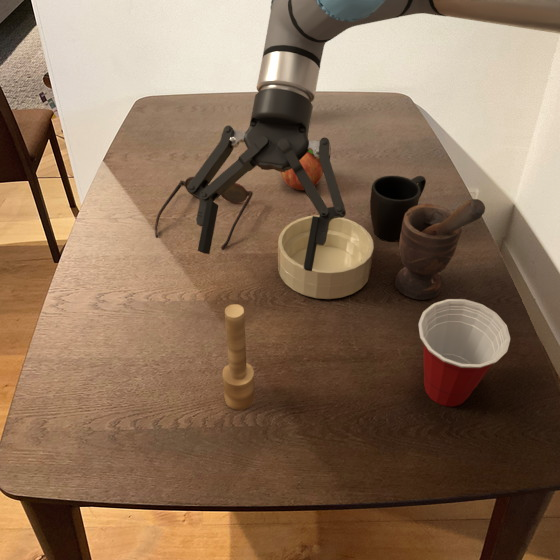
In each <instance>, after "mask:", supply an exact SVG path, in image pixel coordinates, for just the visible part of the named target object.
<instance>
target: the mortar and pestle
mask: <svg viewBox="0 0 560 560" xmlns="http://www.w3.org/2000/svg"><path fill="white" fill-rule="evenodd" d="M485 211H486V205H485V203H484V202H483V201H482V200H480V199H478V198H471V199H469V200H467V201H465V202H464V203H463V204H461V205H460V206H459V207H458V208H456V210H454V211H453V210H451V209H450V208H447V207H444V206H440V205H438V204H434V203H424V204H422V203H421V204H418V205H417V206H414V207H412V208H410V209H409V210H408V211H407V212H406V213H405V216H404V219H403V224H402V230H401V235H400V240H399V244H398V245H399V246H398V247H399V249H398V250H399V255H400V260H401V262H402V265H403V266H404V267H403V268H401V269H400V270H399V271H398V273H397V274H396V277H395V280H394V286H395V288H396V289H397V291H398V292H399V293H400V294H402V295H403V296H405V297H407V298H410V299H413V300H420V301H423V300H432V299H435V298H436V297H437V296H438V295H439V294H440V293H441V290H442V281H441V278H440V275H439V273H442V272H443V270H445V269H446V268H447V266H448V265H449V263H450V261H451V260H452V258H453V257H454V254H455V252H456V249H457V246H458V243H459V239H460V237H461V234H462V232H463V227H465V226H468V225H470V224H471V223H474V222H476V221H478V220H480V219H481V217H482V216H483V215H484V214H485Z"/></svg>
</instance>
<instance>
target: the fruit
mask: <svg viewBox="0 0 560 560" xmlns="http://www.w3.org/2000/svg"><path fill="white" fill-rule="evenodd" d="M299 161H300V163H301V165H302V166H303V168H304V170H305V171H306V173H307V175H308V176H309V178H310V180H311V181H312V183H313V185H314V186H317V184H319V182H320V181H321V179H322V177H323V176H324V173H323V170H322V166H321V163H320V159H317V158H316V157H315V156H314V153H313V151H311V150H309V151H308V152H307V153H306V154H305V155H304V156H303V157H302V158H301V159H300V160H299ZM280 175H281V178H282V180H283V181H284V183H285V184H286V185H287V186H288V187H290V188H292V189H293V190H296V191H305V189H304V188H303V186H302V184H301V183H300V181H299V179H298V178H297V176H296V175H295V173H294V171H293V170H292V168H291V169H290V170H288V171H285V172H280Z"/></svg>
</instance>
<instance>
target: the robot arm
mask: <svg viewBox="0 0 560 560" xmlns="http://www.w3.org/2000/svg"><path fill="white" fill-rule="evenodd" d="M417 14H425V15H432V16H440V17H448V18H449V17H450V18H455V19H461V20H462V19H463V20H470V21H475V22H482V23H488V24H495V25H500V26H501V25H502V26H508V27H514V28H519V29H526V30H534V31H539V32H540V31H541V32H547V33H554V34H559V35H560V0H270V11H269V18H268V22H267V23H268V24H267V29H266V36H265V41H264V46H263V53H262V58H261V63H260V68H259V73H258V78H257V83H256V91H257V93H256V94H255V95H254V99H253V105H252V111H251V117H250V121H249V126H248V128H247V129H246V131H241V130H238V129H234V128H233V127H232V126H231V125H228V124H227V125H226V126H224V127H223V130H222V133H221V137H220V140H219V142H218V143H217V145H216V146H215V148H214V149H213V151H212V152H211V153H210V155H209V156H208V157H207V159H206V160H205V161H204V162H203V164H202V165H201V167H200V168H199V169H198V170H197V172H196V173H195V175H194V176H193V177H194V178H193V179H192V181H191V182H190V183H189V185H188V187H187V189H188V191H189V192H190V193H192V194H193V195H195V196H197V197H198V198H197V199H198V200H199V203H198V209H197V215H196V219H195V221H196V225H198V226H199V227H201V231H200V237H199V242H198V246H197V252H200V253H202V254H205V255H210V252H211V249H212V243H213V237H214V234H215V233H214V232H215V226H216V222H217V217H218V212H219V211H218V210H219V204H217V203H216V202H215V201H216V200H217V199H219V197H221V194H223V193H224V192H225V191H226V190H227V189H228V188H229V187H231V186H232V185H233V184H234V183H237V182H238V181H239V180H240V179H242V178H243V177H244V176H245V175H246V174H247V173H248V172H251V171H252V170H254V169H255V168H256V167H258V168H260V169H261V170H265V171H271V170H275V171H276V172H280V173H281V172H285V171H288V170H290V169H291V168H292V170H293V171H294V173H295V175H296V176H297V178H298V179H299V181H300V183H301V184H302V186H303V188H304V189H305V190H304V191H305V194H306V195H307V196H308V198H309V199H310V201H311V203H312V204H313V206H314V208H315V210H316V212H317V213H318V215H319V217H316V216H315V215H312V216H313V217H312V223H311V229H310V234H309V240H308V246H307V251H306V257H305V262H304V269H305V270H307V271H312V268H313V263H314V257H315V251H316V246H317V245H323V246H324V244H325V243H326V238H327V233H328V227H329V222H330V221H331V220H332V219H334V218H345V217H346V214H347V212H346V207H345V205H344V201H343V198H342V195H341V192H340V188H339V185H338V182H337V179H336V176H335V172H334V168H333V165H332V163H331V153H332V152H331V151H332V148H331V142H330V139H329V138H328V137H322V138H320V140H315V139H313V140H312V139H309V131H310V125H311V119H312V116H313V115H312V114H313V108H314V105H313V104H312V102H313V101H314V100H315V97H316V94H317V93H316V92H317V88H318V87H317V85H318V81H319V75H320V70H321V62H322V58H323V54H324V48H325V45H326V43H328V42H329V41H332V40H333V39H334V38H336V37H338V36H339V35H340V34H342V33H344V32H345V31H346V30H348V29H351V28H353V27H357V26H363V25H367V24H371V23H377V22H381V21H386V20H387V21H388V20H391V19H392V20H393V19H396V18H397V19H399V18H400V17H401V18H402V17H406V16H407V17H408V16H412V15H417ZM243 142H244V145H245V146H246V150H244V151H243V152H242V154H240V155H239V156H238V158H237V160H236V161H234V162H233V163H232V164H231V165H230V166H228V168H226V169H225V170H224V171H223V172H222V173H220V175H218V176H217V177H216V178H215V176H216V175H217V173H218V172H220V169H221V168H222V167H223V166H224V164H225V162H226V161H227V160H228V158H229V157H230V156H231V155H232V153H233V150H234V149H235V148H238V147H239V145H240V144H241V143H243ZM309 150H311V151H313V153H314V156H315V157H316V158H317V159H320V163H321V166H322V170H323V177H324V180H325V183H326V185H327V186H326V187H327V189H328V192H329V196H330V199H331V202H332V205H333V206H330V207H327V205H326V202H325V201H324V200H323V198H322V197H321V194H320V193H319V191H318V190H317V187H315V186H316V185H315V186H314V185H313V183H312V181H311V180H310V178H309V176H308V175H307V173H306V171H305V170H304V168H303V166H302V165H301V163H300V161H299V160H300V159H301V158H302V157H303V156H304V155H305V154H306V153H307V152H308V151H309ZM214 178H215V179H214ZM213 179H214V180H213ZM187 189H186V190H187ZM188 191H187V192H188ZM189 192H188V193H189ZM190 193H189V194H190Z"/></svg>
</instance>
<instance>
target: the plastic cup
mask: <svg viewBox="0 0 560 560" xmlns="http://www.w3.org/2000/svg"><path fill="white" fill-rule="evenodd" d="M417 324H418V331H419V338H420V341H421V342H422V343H423V384H424V391H425V393H426V395H427V397H428V398H429V399H430V400H431V401H433V402H434V403H436V404H438V405H440V406H444V407H453V408H454V407H457V406H460V405H462V404H463V403H464V402H465V401H466V400H467V399H469V398H470V396H471V395H472V394H473V392H474V390H475V389H476V388H477V387H478V386H479V384H480V383H481V381H482V380H483V378H484V377H485V375H486V374H487V373H488V372H489V370H490V368H491V367H492V366H493V365H494V364H496V363H497V362H498V361H499V360H500V359H501V358H503V356H504V355H505V354H506V353H508V350H509V346H510V342H511V335H510V332H509V329H508V325H507V324H506V323H505V321H504V320H503V319H502V318H501V317H500V315H499V314H498V313H497V312H495V311H494V310H492V309H491V308H489V307H487V306H486V305H484V304H482V303H479V302H475V301H473V300H469V299H466V298H464V299H463V298H448V299H447V298H446V299H444V300H441V301H437V302H434V303H433V304H431V305H430V306H428V307H427V308H426V309H425V310H423V312H422V314H421V316H420V318H419V321H418V323H417Z"/></svg>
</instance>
